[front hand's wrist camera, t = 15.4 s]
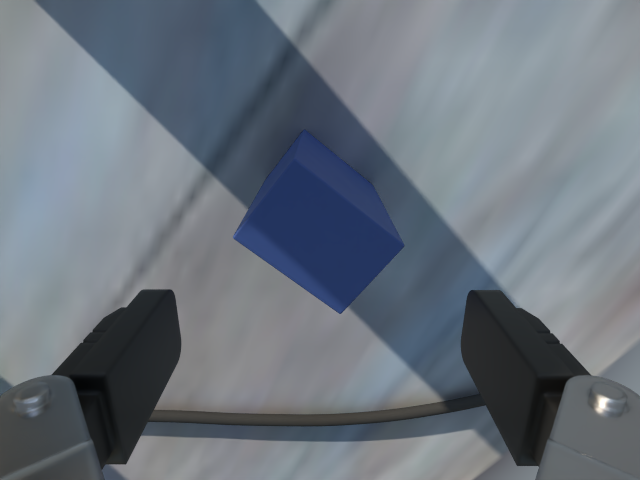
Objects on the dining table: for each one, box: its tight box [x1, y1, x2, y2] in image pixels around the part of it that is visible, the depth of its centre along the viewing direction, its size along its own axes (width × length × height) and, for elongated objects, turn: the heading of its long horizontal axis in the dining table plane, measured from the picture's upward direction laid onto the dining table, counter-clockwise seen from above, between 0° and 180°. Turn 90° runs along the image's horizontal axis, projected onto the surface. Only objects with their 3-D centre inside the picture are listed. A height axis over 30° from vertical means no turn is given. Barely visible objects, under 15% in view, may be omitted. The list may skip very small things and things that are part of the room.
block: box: [233, 130, 404, 314], centre depth 22 cm, size 4×6×11 cm
